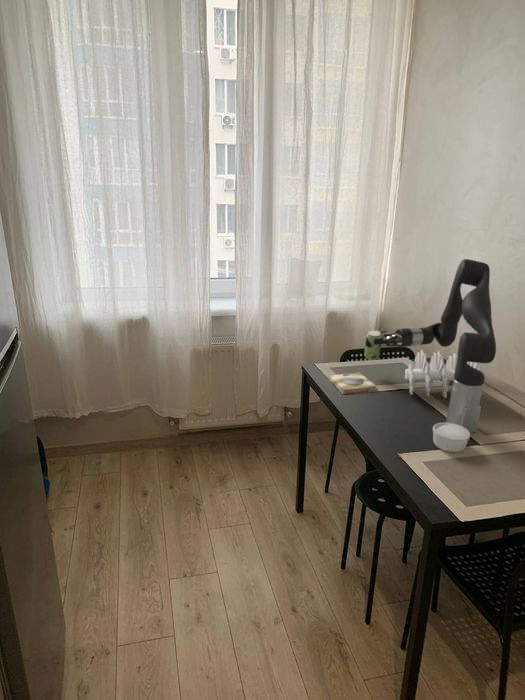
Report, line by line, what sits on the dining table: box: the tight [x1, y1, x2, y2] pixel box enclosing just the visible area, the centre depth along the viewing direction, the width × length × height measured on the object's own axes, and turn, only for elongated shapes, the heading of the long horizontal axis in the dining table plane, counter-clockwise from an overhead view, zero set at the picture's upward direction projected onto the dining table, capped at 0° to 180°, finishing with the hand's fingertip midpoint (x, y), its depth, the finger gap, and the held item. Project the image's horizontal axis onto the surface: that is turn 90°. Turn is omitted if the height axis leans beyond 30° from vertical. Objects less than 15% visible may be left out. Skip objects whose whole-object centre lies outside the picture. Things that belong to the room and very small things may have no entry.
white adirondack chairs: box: [404, 349, 481, 398], centre depth 193 cm, size 18×18×25 cm
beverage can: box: [363, 329, 382, 361], centre depth 207 cm, size 6×7×12 cm
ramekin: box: [432, 422, 471, 453], centre depth 161 cm, size 11×11×5 cm
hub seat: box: [328, 372, 377, 394], centre depth 203 cm, size 14×14×2 cm
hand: (371, 340), depth 204 cm, fingers closed on beverage can, 3 cm apart
